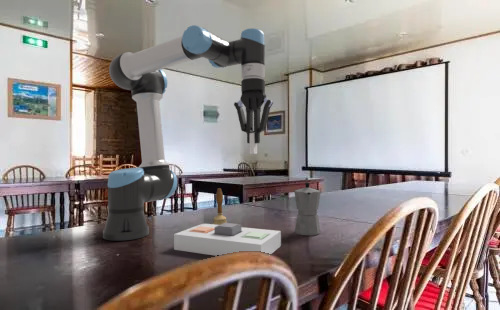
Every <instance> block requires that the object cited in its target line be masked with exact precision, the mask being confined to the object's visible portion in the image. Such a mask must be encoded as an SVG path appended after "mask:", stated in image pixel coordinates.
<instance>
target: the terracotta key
mask: <svg viewBox="0 0 500 310" xmlns="http://www.w3.org/2000/svg"><path fill="white" fill-rule="evenodd" d="M213 230H215V228H212V227H202V226H200V227H198V228H195V229H192V230H190V232H199V233H208V232H211V231H213Z"/></svg>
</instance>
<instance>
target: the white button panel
mask: <svg viewBox="0 0 500 310" xmlns="http://www.w3.org/2000/svg"><path fill="white" fill-rule="evenodd" d="M200 226H202V227H212V228H215V227H216V226H218V225H214V224H213V223H211V224H210V223H201V224H198V225H195V226H192V227H189V228H187V229H184V230H182V231H178V232H176V233H174V234H173V250H175V251H181V252H189V253H195V254H201V255H209V256H210V255H211V256H214V257H215V256H216V257H218V256H217V255H222V254H227V253H233V252H239V251H261V252H265V253H269V254H273V253H274V252H275V251H277V250H278V249H279V248H280V247H281V246H282V231H281V230H273V229H264V228H253V227H246V226H245V227H243V226H241V233H239V234H237V235H235V236H225V235H216V234H215V230H213V231H211V232H208V233H199V232H190V230H192V229H195V228H198V227H200ZM249 232H260V233H266V234H269V235H268V236H267V237H265V238H264V239H262V240H260V239H252V238H243V237H242V236H244V235H246V234H248V233H249Z"/></svg>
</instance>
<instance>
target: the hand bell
mask: <svg viewBox="0 0 500 310" xmlns="http://www.w3.org/2000/svg"><path fill="white" fill-rule="evenodd" d="M215 200H216V205H217V215H216V216H214V217H213V222H212V224H214V225H221V224H223V223H228V221H227V217H226V216H224V215H223V201H224V195H223V191H222V188H220V187H219V188H217V190H216V194H215Z"/></svg>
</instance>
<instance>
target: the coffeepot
mask: <svg viewBox="0 0 500 310" xmlns="http://www.w3.org/2000/svg"><path fill="white" fill-rule="evenodd" d="M304 185H305V187H302V188H299V189H296V190H294V192H293V193H294V196H295V197H294V198H295V206H296V209H297V215H296V219H295V227H294V232H295V234H297V235H301V236H317V235H319V234H321V232H322V231H321V225H320V221H319V215H318V210H319V205H320V198H321V192H322V191H321V190H318V189H315V188H312V187H310V182H305V183H304Z"/></svg>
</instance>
